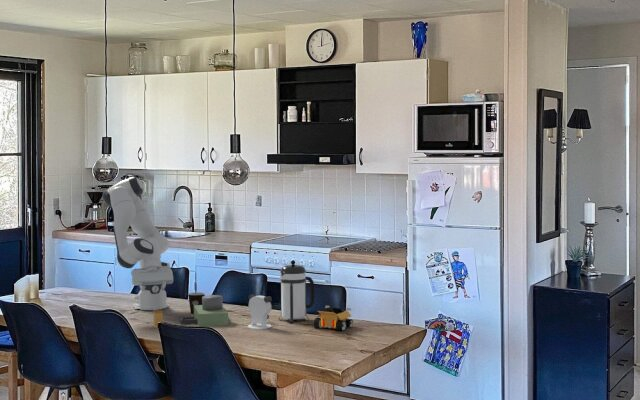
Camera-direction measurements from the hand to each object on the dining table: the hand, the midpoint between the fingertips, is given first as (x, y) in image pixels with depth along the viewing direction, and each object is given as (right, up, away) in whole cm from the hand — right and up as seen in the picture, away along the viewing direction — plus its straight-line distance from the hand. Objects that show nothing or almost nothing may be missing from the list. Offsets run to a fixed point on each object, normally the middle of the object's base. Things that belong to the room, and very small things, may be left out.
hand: (153, 290), depth 413 cm
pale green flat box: (+24, -16, +3) cm, 29 cm away
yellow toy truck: (+89, -17, -16) cm, 92 cm away
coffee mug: (+19, -15, +24) cm, 34 cm away
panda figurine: (+53, -16, -11) cm, 57 cm away
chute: (+5, -17, -11) cm, 20 cm away
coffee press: (+70, -15, +4) cm, 72 cm away
